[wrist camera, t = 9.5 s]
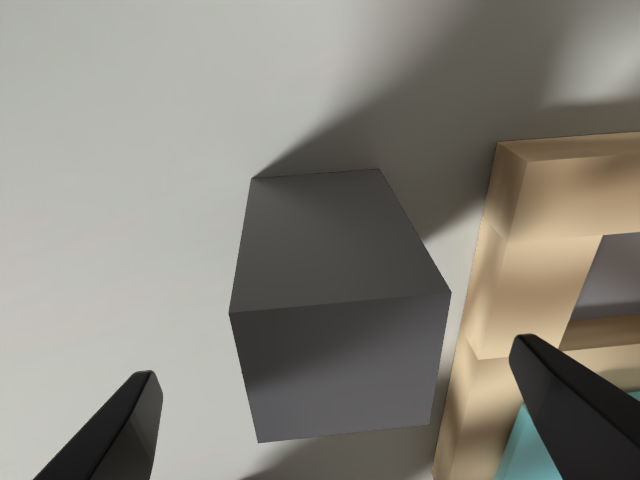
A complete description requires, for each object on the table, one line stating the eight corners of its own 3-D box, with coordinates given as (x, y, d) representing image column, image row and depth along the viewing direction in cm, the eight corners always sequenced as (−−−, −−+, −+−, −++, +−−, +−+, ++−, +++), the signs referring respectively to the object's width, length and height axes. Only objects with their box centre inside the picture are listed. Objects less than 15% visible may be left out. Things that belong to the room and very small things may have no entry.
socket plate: (621, 450, 26) (645, 481, 24) (431, 471, 25) (442, 505, 24) (838, 116, 14) (913, 132, 13) (497, 141, 14) (527, 161, 12)
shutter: (622, 474, 23) (658, 525, 21) (490, 489, 23) (512, 543, 20) (683, 386, 19) (737, 438, 16) (521, 403, 18) (554, 459, 16)
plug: (375, 271, 16) (429, 424, 10) (266, 281, 16) (258, 443, 10) (379, 168, 14) (451, 292, 8) (251, 178, 14) (228, 313, 8)
